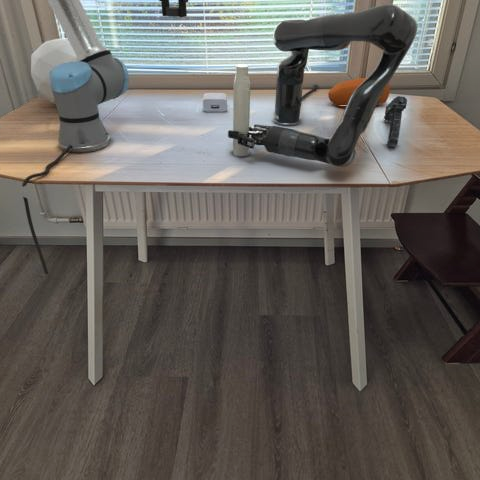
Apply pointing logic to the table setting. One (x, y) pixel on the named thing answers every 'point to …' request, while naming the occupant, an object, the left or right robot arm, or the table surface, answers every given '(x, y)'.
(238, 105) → the bottle
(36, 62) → the decorative sphere
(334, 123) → the table surface
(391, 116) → the futuristic handgun
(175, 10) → the cap
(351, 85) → the clog
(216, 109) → the charger
